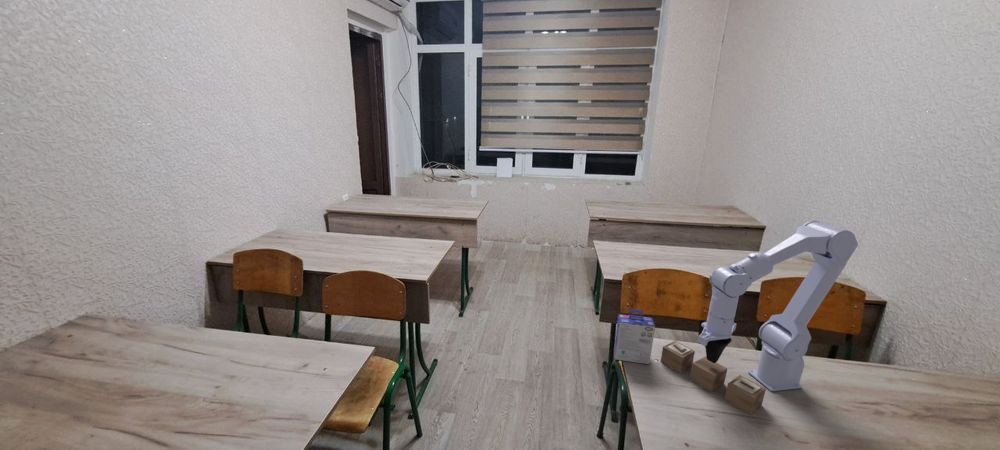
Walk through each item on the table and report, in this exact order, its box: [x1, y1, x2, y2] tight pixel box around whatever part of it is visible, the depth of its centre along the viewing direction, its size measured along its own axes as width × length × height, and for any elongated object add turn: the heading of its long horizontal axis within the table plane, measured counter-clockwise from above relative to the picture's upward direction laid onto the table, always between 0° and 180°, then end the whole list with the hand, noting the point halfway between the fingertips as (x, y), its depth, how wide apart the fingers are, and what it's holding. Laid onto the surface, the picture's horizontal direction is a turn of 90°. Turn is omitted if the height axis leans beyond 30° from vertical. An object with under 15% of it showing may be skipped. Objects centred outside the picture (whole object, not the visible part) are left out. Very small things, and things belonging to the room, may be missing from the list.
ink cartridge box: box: [613, 308, 656, 365], centre depth 110 cm, size 10×6×14 cm, turn 78°
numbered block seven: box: [660, 340, 696, 374], centre depth 108 cm, size 6×6×5 cm
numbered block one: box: [723, 374, 767, 416], centre depth 94 cm, size 6×6×5 cm
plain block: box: [689, 356, 728, 393], centre depth 101 cm, size 6×6×5 cm
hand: (711, 360), depth 100 cm, fingers closed
